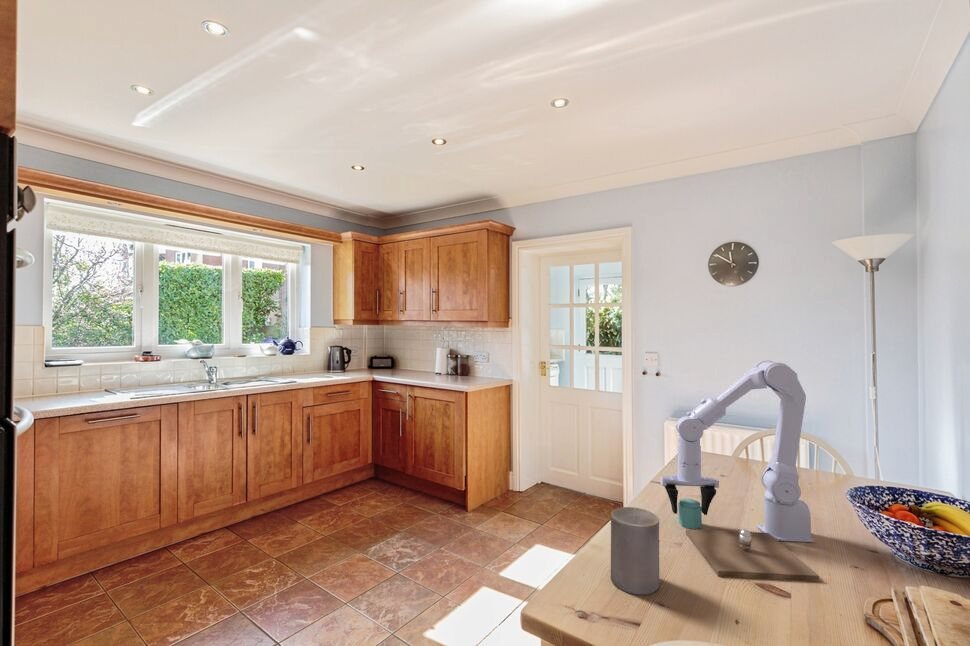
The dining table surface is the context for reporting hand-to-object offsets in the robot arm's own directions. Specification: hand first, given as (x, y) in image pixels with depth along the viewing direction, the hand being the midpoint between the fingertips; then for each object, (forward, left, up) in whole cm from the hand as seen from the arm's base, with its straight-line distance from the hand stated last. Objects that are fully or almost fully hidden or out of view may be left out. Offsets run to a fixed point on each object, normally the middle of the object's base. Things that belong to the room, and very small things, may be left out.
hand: (689, 512), depth 121 cm
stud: (-7, +16, -2) cm, 18 cm away
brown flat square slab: (-7, +16, -3) cm, 18 cm away
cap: (0, 0, -3) cm, 3 cm away
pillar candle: (+21, +30, -3) cm, 37 cm away
